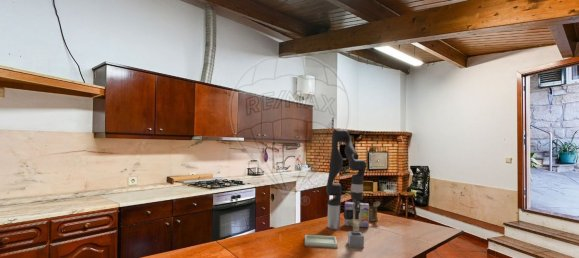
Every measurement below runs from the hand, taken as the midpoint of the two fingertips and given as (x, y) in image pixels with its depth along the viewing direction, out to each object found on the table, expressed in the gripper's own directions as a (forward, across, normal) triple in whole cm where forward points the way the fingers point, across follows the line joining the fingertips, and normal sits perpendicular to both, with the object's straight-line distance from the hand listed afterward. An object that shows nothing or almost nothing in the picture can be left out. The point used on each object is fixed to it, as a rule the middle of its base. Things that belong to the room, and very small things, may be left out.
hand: (356, 218), depth 187 cm
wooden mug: (+18, -60, +24) cm, 67 cm away
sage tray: (+17, 0, -22) cm, 28 cm away
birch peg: (+8, 0, 0) cm, 8 cm away
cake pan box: (+17, -43, +7) cm, 47 cm away
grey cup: (+17, 0, 0) cm, 17 cm away
